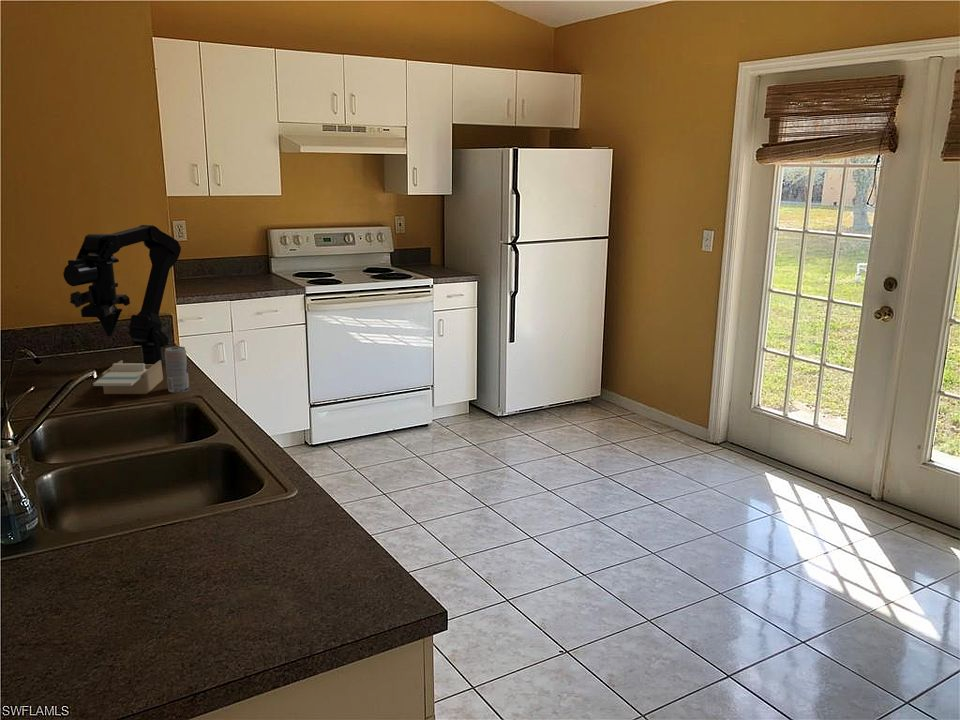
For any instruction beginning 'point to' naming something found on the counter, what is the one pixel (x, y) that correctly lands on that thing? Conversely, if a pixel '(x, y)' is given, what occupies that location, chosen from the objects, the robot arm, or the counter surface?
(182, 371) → the energy drink
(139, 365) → the lid
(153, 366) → the mailer box
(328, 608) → the counter surface
